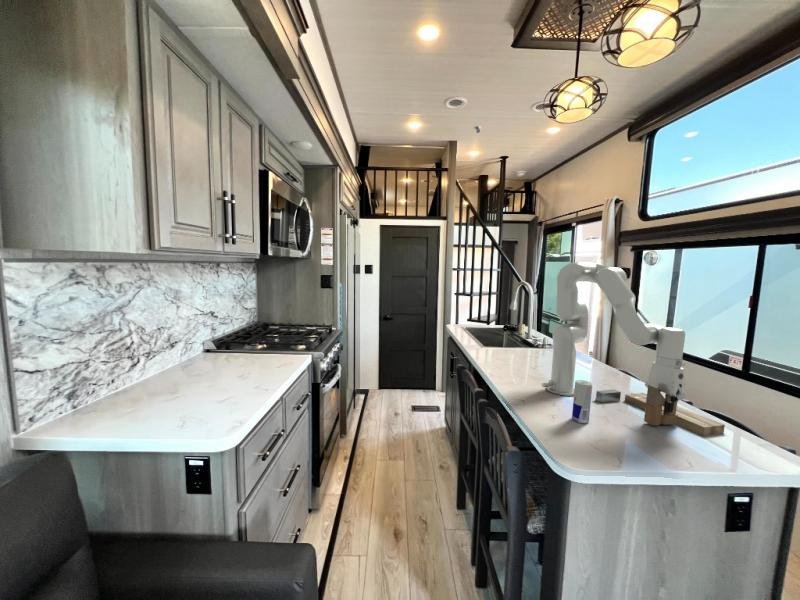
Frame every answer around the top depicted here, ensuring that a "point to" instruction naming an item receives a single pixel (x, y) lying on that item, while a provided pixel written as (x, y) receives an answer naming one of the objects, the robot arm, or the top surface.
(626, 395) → the light brown wooden board
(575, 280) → the robot arm
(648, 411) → the wooden bracket
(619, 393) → the metal block
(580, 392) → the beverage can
